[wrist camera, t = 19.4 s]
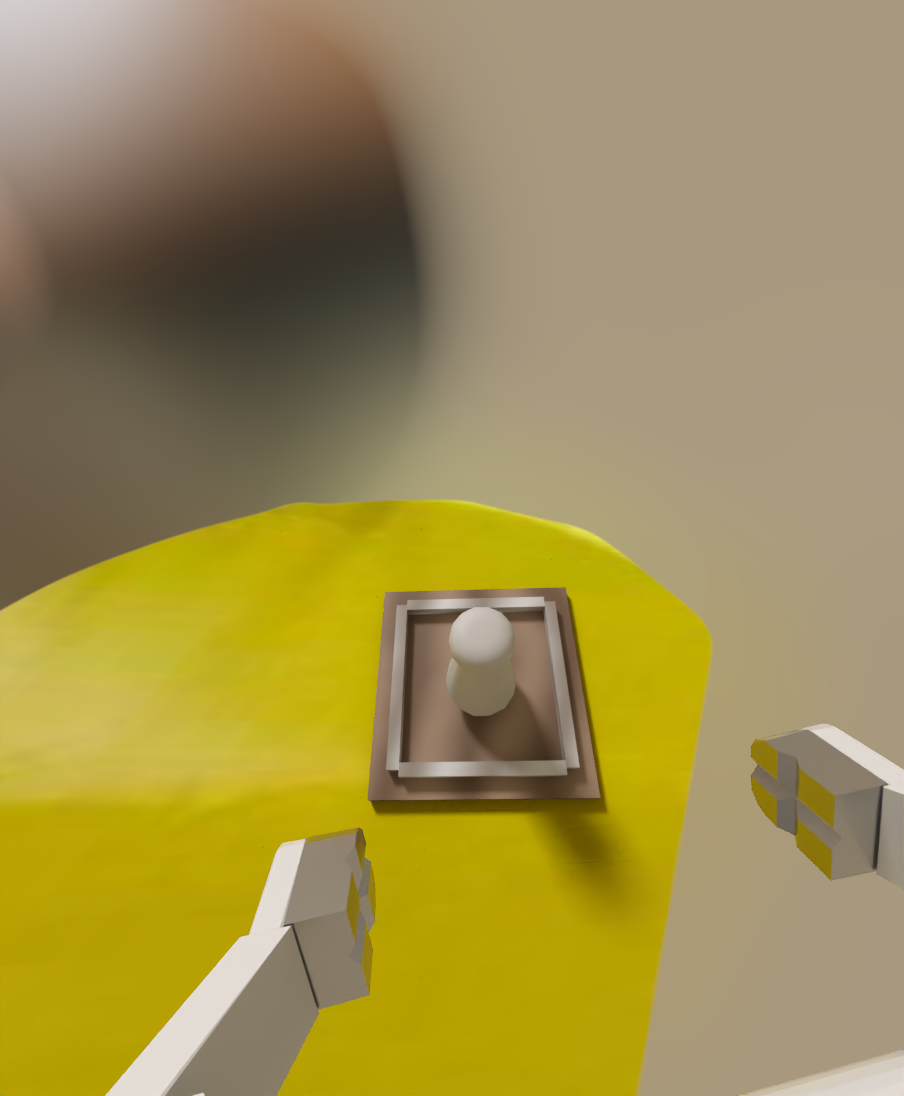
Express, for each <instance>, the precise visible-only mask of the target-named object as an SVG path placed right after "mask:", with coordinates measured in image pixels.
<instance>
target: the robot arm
mask: <svg viewBox="0 0 904 1096" xmlns="http://www.w3.org/2000/svg"><path fill="white" fill-rule="evenodd" d="M751 757H752V758H753V759H754V761H755V762H756V763H757V764H758V765H757V767H756V768H755V770H754V771H753V773H752V775H751V785H752V791H753V793H754V796H755V798H756V801H757V803H758V805H759V806H760V808H761V809H762V811H763V812H764V813H765V815H766V816H767V817H768V818H769V819H770V820H771V821H772V822H773V823H774V824H775V825H776V826H777V827H778V828H780V829H783V830H785V831H787V832H789V833H791V834H793V835H794V836H795V840H796V843H797V847H798V848H799V849H800V850H801V851H802V852H803V853H804V854H805V855H806V856H807V857H808V858H809V859H810V860H811V861H812V862H813V863H814V864H815V865H816V866H817V867H818V868H819V869H820V870H821V871H822V872H823V873H824V874H825V875H826V876H827V877H828V878H829V879H830V880H836V879H841V878H846V877H850V876H855V875H860V874H865V873H869V872H874V871H877V875H879V876H881V877H883V878H885V879H887V880H888V881H890V882H892V883H894V884H896V885H897V886H899V887H901V888H903V889H904V770H903V769H901V768H900V767H898V766H897V765H895V764H893V763H892V762H890V761H889V760H887V759H885V758H884V757H882V756H881V755H879V754H877V753H876V752H874V751H873V750H871V749H869V748H868V747H866V746H865V745H863V744H861V743H860V742H858V741H857V740H855V739H853V738H852V737H850V736H849V735H847V734H845V733H844V732H842V731H841V730H839V729H837V728H836V727H834V726H831V725H827V724H819V725H816V726H811V727H807V728H803V729H800V730H795V731H791V732H786V733H782V734H778V735H773V736H769V737H765V738H761V739H756V740H754V742H753V744H752V746H751ZM365 847H366V842H365V838H364V835H363V831H362V829H360V828H355V829H350V830H344V831H339V832H334V833H329V834H324V835H318V836H313V837H309V838H307V839H302V840H296V841H291V842H285V843H282V844H281V846H280V847H279V849H278V850H277V852H276V855H275V858H274V861H273V864H272V867H271V870H270V873H269V876H268V879H267V882H266V885H265V888H264V891H263V894H262V897H261V900H260V903H259V906H258V909H257V912H256V915H255V918H254V921H253V924H252V927H251V930H250V933H249V935H247V936H243V937H240V938H239V939H238V940H237V941H236V943H235V944H234V945H233V946H232V947H231V948H230V950H229V951H228V952H227V953H226V954H225V956H224V957H223V958H222V959H221V960H220V961H219V963H218V964H217V965H216V966H215V967H214V968H213V970H212V971H211V972H210V973H209V974H208V976H207V977H206V978H205V979H204V980H203V981H202V983H201V984H200V985H199V986H198V987H197V988H196V990H195V991H194V992H193V993H192V994H191V996H190V997H189V998H188V999H187V1000H186V1001H185V1003H184V1004H183V1005H182V1006H181V1007H180V1008H179V1010H178V1011H177V1012H176V1013H175V1014H174V1016H173V1017H172V1018H171V1019H170V1020H169V1021H168V1023H167V1024H166V1025H165V1026H164V1027H163V1028H162V1030H161V1031H160V1032H159V1033H158V1034H157V1036H156V1037H155V1038H154V1039H153V1040H152V1041H151V1043H150V1044H149V1045H148V1046H147V1047H146V1049H145V1050H144V1051H143V1052H142V1053H141V1054H140V1056H139V1057H138V1058H137V1059H136V1060H135V1061H134V1063H133V1064H132V1065H131V1066H130V1067H129V1069H128V1070H127V1071H126V1072H125V1073H124V1074H123V1076H122V1077H121V1078H120V1079H119V1080H118V1081H117V1083H116V1084H115V1085H114V1086H113V1087H112V1089H111V1090H110V1091H109V1092H108V1093H107V1094H106V1096H277V1094H278V1092H279V1090H280V1088H281V1086H282V1084H283V1082H284V1080H285V1078H286V1076H287V1074H288V1072H289V1070H290V1068H291V1066H292V1065H293V1063H294V1061H295V1059H296V1057H297V1055H298V1053H299V1051H300V1049H301V1047H302V1045H303V1043H304V1041H305V1039H306V1037H307V1036H308V1034H309V1032H310V1030H311V1028H312V1026H313V1024H314V1022H315V1020H316V1018H317V1016H318V1014H319V1012H318V1010H319V1009H322V1008H326V1007H329V1006H333V1005H336V1004H340V1003H343V1002H347V1001H350V1000H354V999H357V998H361V997H364V996H368V995H370V981H371V967H372V954H373V948H372V944H371V940H370V936H369V930H370V929H371V927H372V926H373V924H374V922H375V907H376V901H375V883H374V875H373V870H372V866H371V862H370V861H369V860H368V859H366V858H365ZM737 1096H904V1049H902V1050H898V1051H895V1052H891V1053H888V1054H884V1055H880V1056H877V1057H874V1058H870V1059H866V1060H862V1061H859V1062H856V1063H852V1064H848V1065H845V1066H841V1067H837V1068H834V1069H830V1070H827V1071H823V1072H819V1073H816V1074H812V1075H809V1076H805V1077H802V1078H798V1079H794V1080H791V1081H787V1082H784V1083H780V1084H776V1085H773V1086H769V1087H766V1088H762V1089H759V1090H755V1091H751V1092H748V1093H744V1094H741V1095H737Z"/></svg>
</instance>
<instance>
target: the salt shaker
mask: <svg viewBox="0 0 904 1096" xmlns="http://www.w3.org/2000/svg"><path fill="white" fill-rule="evenodd" d="M515 643H516V637H515V634H514V631H513V628H512V625H511V623H510V621H509V620H508V619H507V618H506V617H505V616H504V615H503V614H502V613H501V612H499V611H497V610H494V609H492V608H489V607H474V608H472V609H469V610H467V611H465V612H463V613H462V614H461V615H460V616H459V617H458V618H457V619H456V620H455V622H454V623H453V625H452V628H451V632H450V636H449V645H450V649H451V654H452V659H451V661H450V664H449V667H448V672H447V676H446V684H447V688H448V693H449V696H450V697H451V699H452V700H453V701H454V703H455V704H456V705H457V706H458V708H459V709H461V710H463V711H465V712H467V713H469V714H471V715H473V716H490V715H492V714H494V713H496V712H498V711H500V710H502V709H504V708H505V707H506V706H507V704H508V703H509V701H510V700H511V698H512V697H513V695H514V690H515V685H516V676H515V673H514V670H513V667H512V664H511V662H510V659H511V658H512V656H513V654H514V649H515Z"/></svg>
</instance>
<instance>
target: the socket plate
mask: <svg viewBox="0 0 904 1096" xmlns="http://www.w3.org/2000/svg"><path fill="white" fill-rule="evenodd" d="M474 607H489V608H492V609H494V610H497V611H499V612H501V613H502V614H503V615H504V616H505V617H506V618H507V619H508V620H509V621H510V623H511V625H512V628H513V631H514V634H515V637H516V643H515V649H514V654H513V656H512V658H511V659H510V662H511V664H512V667H513V670H514V673H515V676H516V685H515V690H514V695H513V697H512V698H511V700H510V701H509V703H508V704H507V706H506V707H505V708H504V709H502V710H500V711H498V712H496V713H494V714H492V715H490V716H473V715H471V714H469V713H467V712H465V711H463V710H461V709H459V708H458V706H457V705H456V704H455V703H454V701H453V700H452V699H451V697H450V696H449V693H448V688H447V684H446V676H447V672H448V667H449V664H450V661H451V659H452V654H451V649H450V645H449V636H450V632H451V628H452V625H453V623H454V622H455V620H456V619H457V618H458V617H459V616H460V615H461V614H462V613H463V612H465V611H467V610H469V609H472V608H474ZM577 798H601V797H600V791H599V785H598V779H597V773H596V767H595V761H594V755H593V749H592V743H591V737H590V731H589V725H588V719H587V713H586V707H585V701H584V695H583V689H582V683H581V677H580V671H579V665H578V659H577V653H576V647H575V641H574V635H573V629H572V623H571V617H570V611H569V605H568V599H567V593H566V588H528V589H491V590H453V591H415V592H385V599H384V611H383V623H382V635H381V646H380V658H379V670H378V682H377V694H376V706H375V718H374V730H373V742H372V754H371V765H370V777H369V789H368V800H369V801H383V800H480V799H577Z"/></svg>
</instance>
